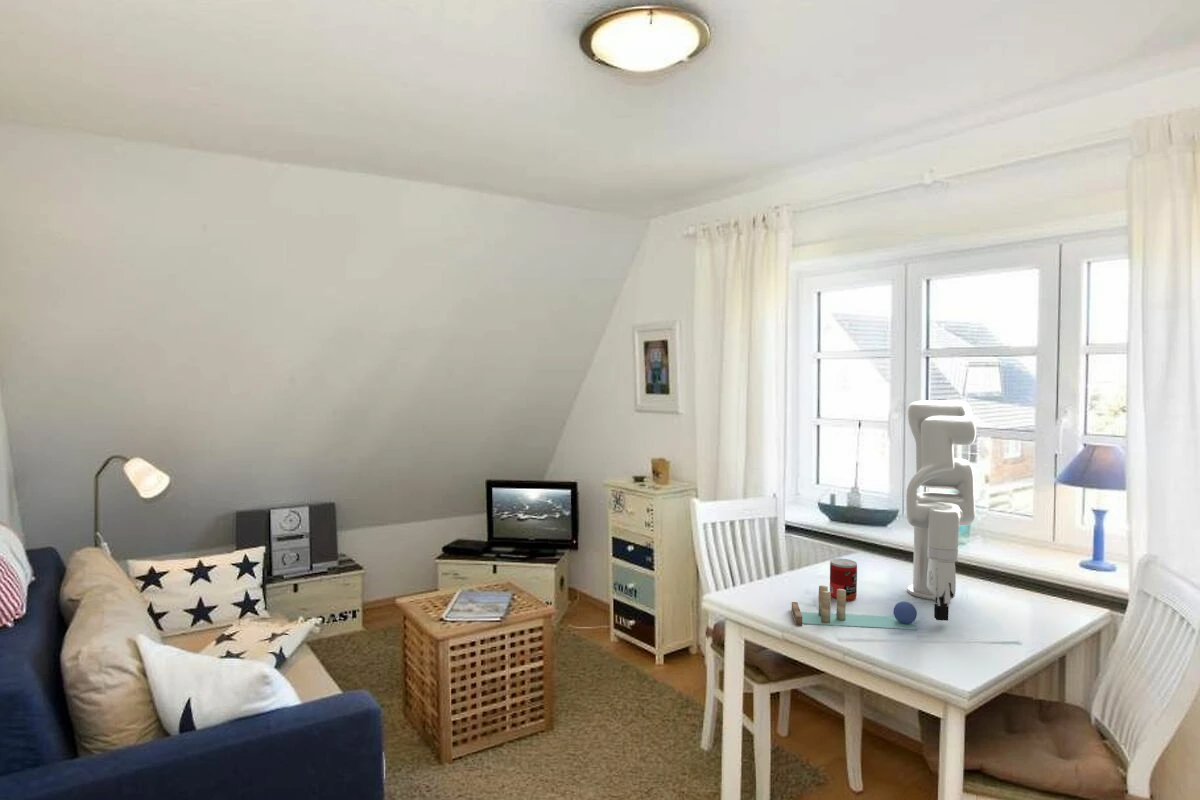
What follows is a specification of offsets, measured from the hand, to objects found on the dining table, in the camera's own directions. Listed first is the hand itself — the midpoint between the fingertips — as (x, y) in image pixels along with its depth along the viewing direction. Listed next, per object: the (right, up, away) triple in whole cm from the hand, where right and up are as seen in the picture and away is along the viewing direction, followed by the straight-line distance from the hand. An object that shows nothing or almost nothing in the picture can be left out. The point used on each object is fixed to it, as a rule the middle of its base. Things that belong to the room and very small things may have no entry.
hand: (941, 619), depth 197 cm
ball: (-9, +1, +2) cm, 9 cm away
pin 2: (-31, -2, +3) cm, 31 cm away
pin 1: (-30, -1, +8) cm, 31 cm away
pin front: (-26, -2, +4) cm, 26 cm away
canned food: (-19, -1, +23) cm, 30 cm away
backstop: (-38, -2, +6) cm, 38 cm away
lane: (-22, -2, +4) cm, 22 cm away
